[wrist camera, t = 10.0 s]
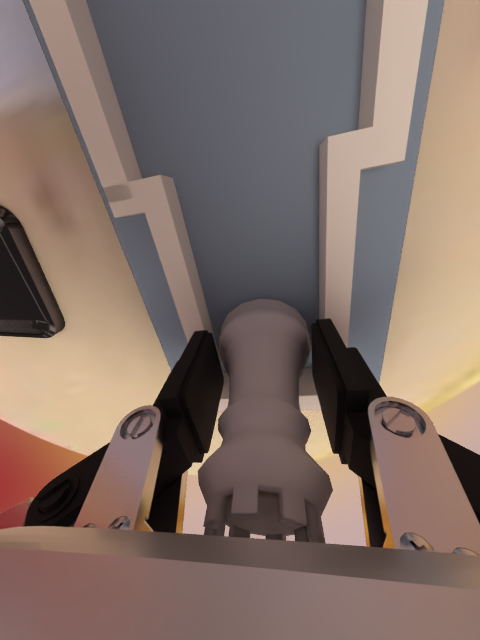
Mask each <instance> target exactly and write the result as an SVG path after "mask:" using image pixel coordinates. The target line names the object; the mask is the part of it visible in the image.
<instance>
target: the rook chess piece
mask: <svg viewBox="0 0 480 640" xmlns="http://www.w3.org/2000/svg"><path fill="white" fill-rule="evenodd" d="M310 351H311V344H310V340H309V333H308V328H307V324H306V321H305V320H304V319H303V317H302V316H301V315H300V314H299V313H298V311H297V310H296V309H295V308H293V307H291V306H289V305H287V304H285V303H283V302H281V301H279V300H270V299H256V300H252V301H249V302H245V303H242V304H240V305H239V306H238V307H236V308H235V309H234V310H232V311H231V312H230V313H229V314H228V315H227V317H226V319H225V321H224V323H223V325H222V327H221V335H220V337H219V354H220V358H221V360H222V362H223V364H224V367H225V369H226V371H227V374H228V376H229V401H228V407H227V408H226V409H225V410H224V412H223V413H222V415H221V416H220V417H219V419H218V431H219V433H220V434H221V436H222V438H223V442H222V445H221V447H220V448H218V449H217V450H216V451H215V452H214V453H213V454H212V455H211V456H210V457H209V458H208V459H207V460H206V461H205V463H204V464H203V465H202V466H201V468H200V469H199V470H198V479H199V486H200V489H201V491H202V494H203V496H204V499H205V502H206V504H207V510H206V515H205V521H204V527H205V532H204V535H211V536H224V531H225V525H227V526H229V527H230V529H229V537H240V538H250V534H257V535H263V536H266V539H269V540H283V541H286V536H288V535H294V534H295V541H298V542H311V543H325V538H324V533H323V527H322V521H321V515H322V513H323V511H324V509H325V506H326V504H327V502H328V500H329V497H330V495H331V493H332V491H333V489H332V486H331V482H330V478H329V475H328V474H327V473H326V472H325V471H324V470H323V469H322V468H321V467H320V466H319V465H318V464H317V463H316V462H315V461H314V459H313V458H312V457H311V456H310V455H309V454H308V453H307V452H306V451H305V444H306V443H307V441H308V438H309V435H310V433H311V429H310V426H309V422H308V419H307V418H306V417H305V416H304V415H303V414H302V413H301V411H300V405H299V378H300V377H301V376H302V374H303V370H304V369H305V367H306V366H307V362H308V359H309V355H310Z"/></svg>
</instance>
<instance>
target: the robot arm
mask: <svg viewBox="0 0 480 640" xmlns="http://www.w3.org/2000/svg"><path fill="white" fill-rule="evenodd" d="M311 338H312V375H313V380H314V384H315V388H316V392H317V396H318V399H319V403H320V407H321V411H322V414H323V418H324V422H325V426H326V429H327V433H328V437H329V441H330V444H331V448H332V451H333V453H334V454H339V457H340V460H341V463H342V464H348V467H349V469H350V470H352V471H353V472H354V473H355V474H357V475H358V478H359V486H360V495H361V503H362V511H363V520H364V528H365V536H366V545H367V547H365V546H352V545H338V544H325V543H311V542H298V541H283V540H269V539H254V538H240V537H225V536H211V535H196V534H182V531H183V520H184V508H185V497H186V486H187V474H188V471H187V470H188V469H189V468H190V467H191V466H192V463H193V462H197V463H202V461H203V457H204V453H208V451H209V448H210V444H211V439H212V435H213V430H214V426H215V421H216V417H217V412H218V408H219V403H220V399H221V394H222V390H223V385H224V376H223V372H222V368H221V364H220V361H219V357H218V353H217V349H216V346H215V342H214V338H213V335H212V333H209V332H208V331H207V330H201V331H194V333H193V335H192V337H191V338H190V340H189V342H188V344H187V346H186V348H185V350H184V351H183V353H182V355H181V357H180V359H179V360H178V361H177V362H176V364H175V366H174V368H173V369H172V371H171V373H170V375H169V377H168V379H167V380H166V382H165V384H164V386H163V388H162V390H161V391H160V393H159V395H158V397H157V399H156V401H155V402H154V404H153V406H151V405H148V406H142V407H139V408H137V409H135V410H133V411H131V412H130V413H129V414H127V415H126V416H125V417H124V418H123V419H122V420H121V421H120V423H119V425H118V426H117V428H116V430H115V432H114V435H113V437H112V439H111V442H110V443H108V444H107V445H105V446H103V447H102V448H100V449H99V450H97V451H96V452H94V453H93V454H91V455H90V456H88V457H87V458H85V459H83V460H82V461H80V462H79V463H77V464H76V465H74V466H73V467H71V468H70V469H68V470H67V471H65V472H64V473H62V474H60V475H59V476H57V477H56V478H55V479H53V480H52V481H51V482H49V483H48V484H47V485H46V486H45V487H44V488H43V489H42V490H41V491H40V492H39V493H38V495H37V496H36V497H35V499H33V498H32V497H31V498H29V499H27V500H25V501H23V502H21V503H20V504H18V505H16V506H14V507H12V508H10V509H8V510H7V511H5V512H3V513H1V514H0V640H480V455H478V454H476V453H474V452H473V451H471V450H469V449H466V448H465V447H463V446H461V445H459V444H457V443H455V442H453V441H451V440H449V439H447V438H445V437H443V436H441V435H439V434H438V433H437V431H436V429H435V427H434V425H433V422H432V421H431V420H430V418H429V417H428V415H427V414H426V413H425V412H424V411H423V410H421V409H420V408H419V407H417V406H416V405H414V404H412V403H410V402H408V401H405V400H403V399H400V398H395V397H387V396H386V394H385V393H384V391H383V390H382V388H381V386H380V385H379V383H378V381H377V380H376V378H375V377H374V375H373V373H372V372H371V370H370V368H369V367H368V365H367V364H366V362H365V360H364V359H363V357H362V355H361V354H360V352H359V351H358V349H357V348H355V347H349V348H347V347H346V346H345V344H344V342H343V340H342V338H341V337H340V335H339V333H338V331H337V329H336V327H335V326H334V324H333V322H332V320H331V319H330V318H327V319H317V320H316V323H312V324H311Z"/></svg>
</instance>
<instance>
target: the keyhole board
mask: <svg viewBox="0 0 480 640" xmlns="http://www.w3.org/2000/svg"><path fill="white" fill-rule="evenodd" d="M23 2H24V5H25V7H26V10H27V12H28V15H29V17H30V20H31V22H32V25H33V27H34V30H35V32H36V35H37V37H38V40H39V42H40V45H41V47H42V50H43V52H44V55H45V57H46V60H47V62H48V65H49V67H50V69H51V72H52V74H53V77H54V79H55V82H56V84H57V87H58V89H59V92H60V94H61V97H62V99H63V102H64V104H65V107H66V109H67V112H68V114H69V117H70V119H71V122H72V124H73V127H74V129H75V132H76V134H77V137H78V139H79V142H80V144H81V147H82V149H83V152H84V154H85V157H86V159H87V162H88V164H89V167H90V169H91V172H92V174H93V177H94V179H95V182H96V184H97V187H98V189H99V192H100V194H101V196H102V199H103V201H104V204H105V206H106V209H107V211H108V214H109V216H110V219H111V221H112V224H113V226H114V229H115V231H116V234H117V236H118V239H119V241H120V244H121V246H122V249H123V251H124V254H125V256H126V259H127V261H128V264H129V266H130V269H131V271H132V274H133V276H134V279H135V281H136V284H137V286H138V289H139V291H140V294H141V296H142V299H143V301H144V304H145V306H146V309H147V311H148V314H149V316H150V318H151V321H152V323H153V326H154V328H155V331H156V333H157V336H158V338H159V341H160V343H161V346H162V348H163V351H164V353H165V356H166V358H167V361H168V363H169V366H170V368H171V371H172V369H173V368H174V366H175V364H176V362H177V361H178V360H179V359H180V357H181V355H182V353H183V351H184V350H185V348H186V346H187V344H188V342H189V340H190V338H191V337H192V335H193V333H194V331H201V330H207V331H208V332H209V333H212V335H213V338H214V342H215V346H216V349H217V353H218V357H219V361H220V364H221V368H222V372H223V376H224V385H223V390H222V394H221V399H220V403H219V408H218V412H224V410H225V409H226V408H227V407H228V401H229V376H228V374H227V371H226V369H225V367H224V364H223V362H222V360H221V358H220V354H219V337H220V335H221V327H222V325H223V323H224V321H225V319H226V317H227V315H228V314H229V313H230V312H231V311H232V310H234V309H235V308H236V307H238V306H239V305H240V304H242V303H245V302H249V301H252V300H256V299H270V300H279V301H281V302H283V303H285V304H287V305H289V306H291V307H293V308H295V309H296V310H297V311H298V313H299V314H300V315H301V316H302V317H303V319H304V320H305V321H306V324H307V328H308V333H309V340H310V344H311V351H310V355H309V359H308V362H307V366H306V367H305V369H304V370H303V374H302V376H301V377H300V378H299V405H300V410H320V409H321V407H320V403H319V399H318V396H317V392H316V388H315V384H314V380H313V375H312V338H311V324H312V323H316V320H317V319H327V318H330V319H331V320H332V322H333V324H334V326H335V327H336V329H337V331H338V333H339V335H340V337H341V338H342V340H343V342H344V344H345V346H346V347H347V348H349V347H355V348H357V349H358V351H359V352H360V354H361V355H362V357H363V359H364V360H365V362H366V364H367V365H368V367H369V368H370V370H371V372H372V373H373V375H374V377H375V378H376V380H377V381H378V383H379V381H380V375H381V369H382V364H383V358H384V352H385V346H386V340H387V334H388V328H389V323H390V317H391V311H392V305H393V299H394V293H395V287H396V282H397V276H398V270H399V264H400V258H401V252H402V246H403V241H404V235H405V229H406V223H407V217H408V211H409V205H410V200H411V194H412V188H413V182H414V176H415V170H416V164H417V159H418V153H419V147H420V141H421V135H422V129H423V123H424V118H425V112H426V106H427V100H428V94H429V88H430V82H431V77H432V71H433V65H434V59H435V53H436V47H437V41H438V36H439V30H440V24H441V18H442V12H443V6H444V0H23Z"/></svg>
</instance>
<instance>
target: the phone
mask: <svg viewBox="0 0 480 640" xmlns="http://www.w3.org/2000/svg"><path fill="white" fill-rule="evenodd" d="M64 327H65V321H64V318H63V315H62V313H61V311H60V309H59V306H58V304H57V302H56V300H55V298H54V295H53V293H52V291H51V289H50V286H49V284H48V282H47V280H46V277H45V275H44V273H43V271H42V269H41V266H40V264H39V262H38V260H37V257H36V255H35V253H34V251H33V249H32V246H31V244H30V242H29V240H28V237H27V235H26V233H25V231H24V228H23V227H22V225H21V223H20V222H19V220H18V219H17V218H16V217H15V216H14V214H12V213H11V212H10V211H9V210H7V209H6V208H4V207H2V206H0V336H15V337H34V338H50V337H52V336H54V335H55V334H57V333H58V332H60V331H61V330H63V328H64Z"/></svg>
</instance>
